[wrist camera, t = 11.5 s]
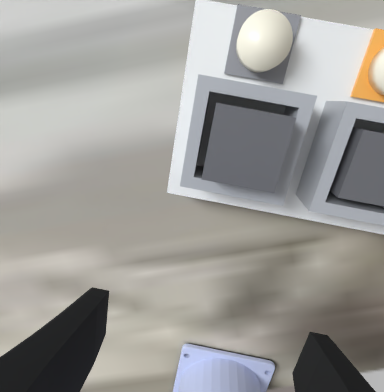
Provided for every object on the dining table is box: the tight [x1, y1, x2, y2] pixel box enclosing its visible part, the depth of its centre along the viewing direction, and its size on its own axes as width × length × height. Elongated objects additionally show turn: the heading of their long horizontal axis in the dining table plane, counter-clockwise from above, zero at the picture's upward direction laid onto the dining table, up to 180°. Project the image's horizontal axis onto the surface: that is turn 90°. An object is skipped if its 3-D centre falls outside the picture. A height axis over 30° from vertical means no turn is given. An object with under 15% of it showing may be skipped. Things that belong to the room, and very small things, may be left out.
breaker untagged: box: [201, 102, 296, 193], centre depth 12 cm, size 3×3×2 cm
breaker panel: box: [167, 0, 384, 235], centre depth 15 cm, size 10×22×5 cm, turn 80°
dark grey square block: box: [330, 127, 384, 206], centre depth 14 cm, size 3×3×2 cm
